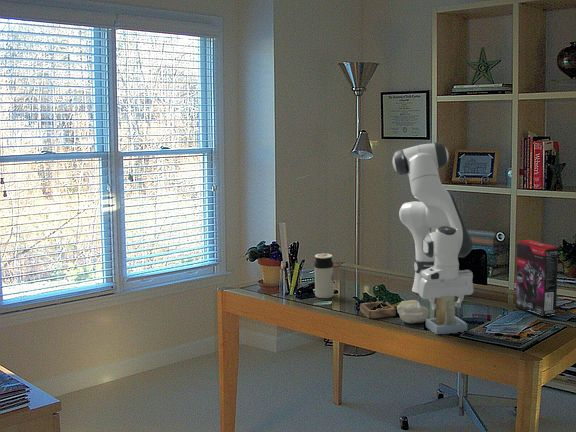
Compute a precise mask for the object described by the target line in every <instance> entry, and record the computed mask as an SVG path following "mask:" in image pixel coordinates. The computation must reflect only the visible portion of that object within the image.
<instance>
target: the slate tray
mask: <svg viewBox="0 0 576 432" xmlns="http://www.w3.org/2000/svg"><path fill="white" fill-rule="evenodd" d="M425 328H427V330H429V329H430V330H431V331H430V330H429V331H430V332H431V333H433V332H434V333H433V334H434V335H436V334H437V335H436V336H439V335H438V334H443V335H449V334H450V333H452V334H459V333H458V332H461V333H465V332H464V331H467V332H468V323H467V322H466V321H464V320H463V319H461V318H459V317H458V316H457V315H455V324H453V325H443V326H437V325H436V317H433V318H427V319H426V320H425Z"/></svg>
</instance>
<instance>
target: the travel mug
mask: <svg viewBox="0 0 576 432" xmlns="http://www.w3.org/2000/svg"><path fill="white" fill-rule="evenodd" d="M314 257H315V261H314V264H313V265H314V296H315V297H316V298H318V299H330V298H332V297H334V296H335V294H334V293H335V290H334V288H335V287H334V285H335V284H334V283H335V282H334V262H333V260H332V258H333V255H332V254H330V253H317V254H315V255H314Z"/></svg>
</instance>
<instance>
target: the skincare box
mask: <svg viewBox="0 0 576 432" xmlns="http://www.w3.org/2000/svg"><path fill="white" fill-rule="evenodd" d="M455 302H456V296H453V297H451V296H444V297H441V298H435V304H436V305H437V310H435V311H436V312H435V314H436V315H435V318H436V325H437V326H443V325H453V324H455V316H456V307H455Z"/></svg>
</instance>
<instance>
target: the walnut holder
mask: <svg viewBox="0 0 576 432" xmlns="http://www.w3.org/2000/svg"><path fill="white" fill-rule="evenodd" d="M381 303H383V302H382V301H375V302H374V301H372V302H365V303H362V302H361V303H360V304H359V311H360V312H361V313H362V314H363V315H364V316H365V315H366V318H368V319H369V318H371V319H379V318H380V319H381V318H387V317H396V316H397V315H396V314H397V313H396V312H397V311H396V310H397V307H394V306H393V305H392V304H390V303H389V302H388V301H386V302H385V304H386V305H387V307H388V309H378V310H371V309H373V308H374V307H376V306H378V305H379V304H381Z"/></svg>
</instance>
